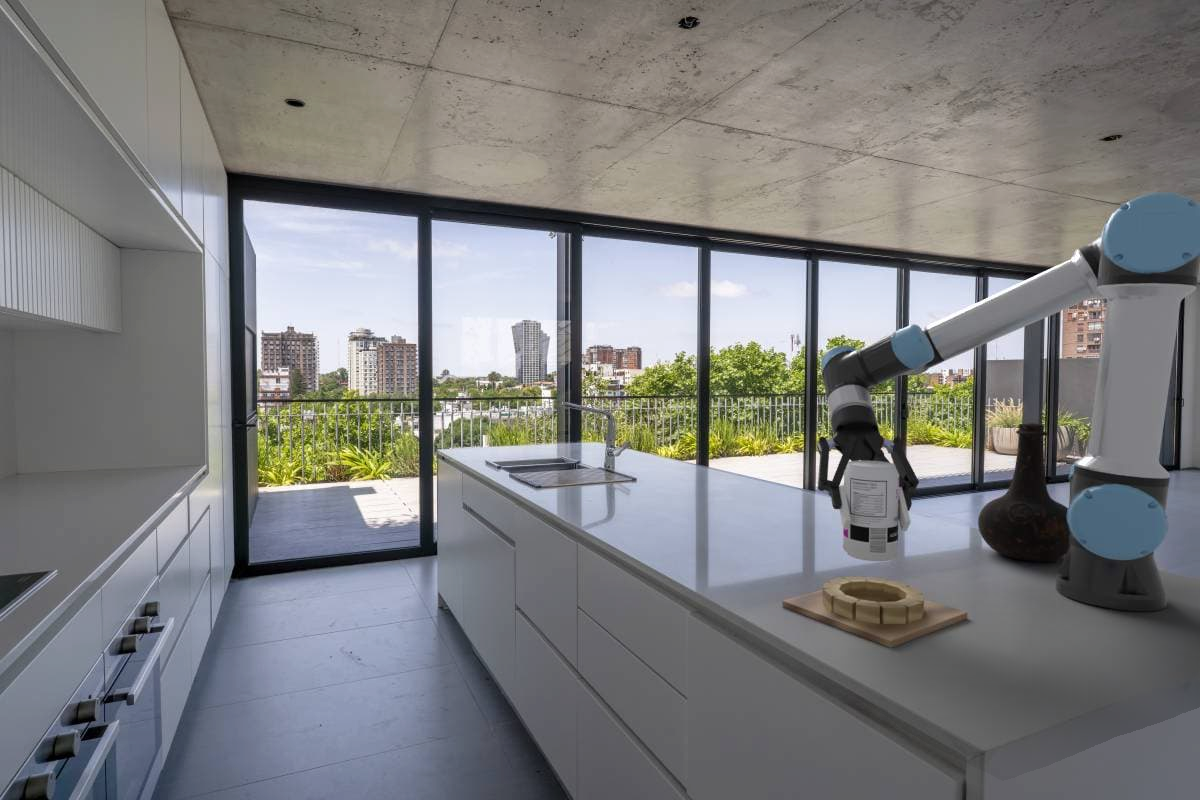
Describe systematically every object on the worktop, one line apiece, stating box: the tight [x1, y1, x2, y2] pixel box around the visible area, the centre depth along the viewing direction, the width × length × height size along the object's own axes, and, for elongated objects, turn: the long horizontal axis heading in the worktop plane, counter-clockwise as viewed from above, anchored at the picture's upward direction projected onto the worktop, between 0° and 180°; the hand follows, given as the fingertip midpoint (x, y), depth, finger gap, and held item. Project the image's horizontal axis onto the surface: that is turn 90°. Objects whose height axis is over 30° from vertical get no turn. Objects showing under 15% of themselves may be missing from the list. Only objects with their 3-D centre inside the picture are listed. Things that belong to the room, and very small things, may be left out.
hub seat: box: [781, 576, 968, 649], centre depth 108 cm, size 20×20×4 cm
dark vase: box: [977, 422, 1069, 563], centre depth 139 cm, size 18×18×28 cm
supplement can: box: [842, 460, 899, 562], centre depth 107 cm, size 8×8×15 cm
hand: (876, 525), depth 104 cm, fingers closed on supplement can, 8 cm apart
